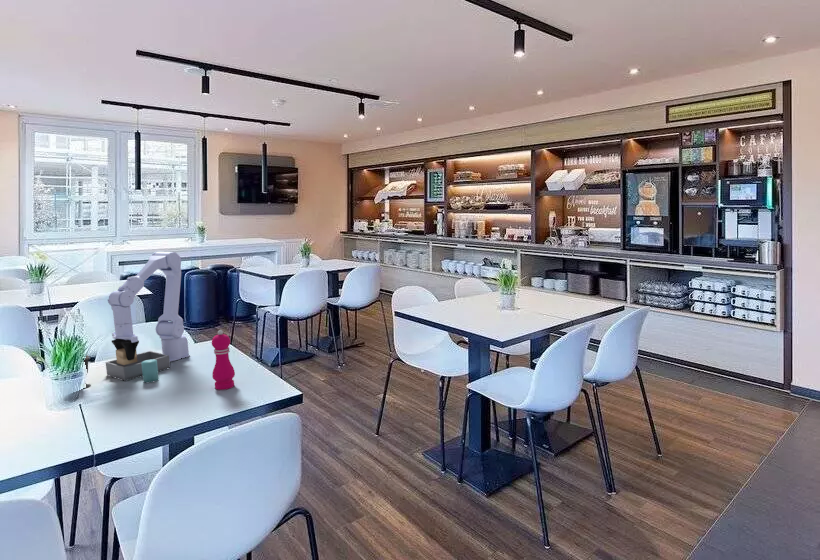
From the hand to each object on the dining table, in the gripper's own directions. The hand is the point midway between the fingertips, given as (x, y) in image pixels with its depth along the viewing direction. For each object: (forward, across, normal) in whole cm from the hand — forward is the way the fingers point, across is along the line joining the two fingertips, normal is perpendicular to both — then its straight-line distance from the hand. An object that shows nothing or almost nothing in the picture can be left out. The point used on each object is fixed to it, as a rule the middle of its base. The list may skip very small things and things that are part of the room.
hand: (127, 358), depth 190 cm
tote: (+6, 0, +4) cm, 8 cm away
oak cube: (+1, 0, 0) cm, 1 cm away
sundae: (+6, -1, -16) cm, 17 cm away
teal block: (+6, +14, +1) cm, 15 cm away
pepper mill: (+6, +43, +10) cm, 45 cm away
